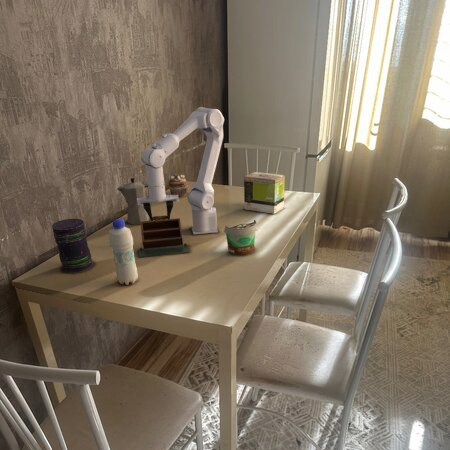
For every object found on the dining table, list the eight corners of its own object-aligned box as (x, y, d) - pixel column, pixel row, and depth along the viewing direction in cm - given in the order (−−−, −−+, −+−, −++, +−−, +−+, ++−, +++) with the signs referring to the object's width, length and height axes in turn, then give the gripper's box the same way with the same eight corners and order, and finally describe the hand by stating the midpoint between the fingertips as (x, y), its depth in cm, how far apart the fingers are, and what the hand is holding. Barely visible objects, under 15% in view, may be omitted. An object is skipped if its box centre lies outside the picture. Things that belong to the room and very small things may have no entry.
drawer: (182, 238, 145) (178, 210, 149) (142, 242, 143) (139, 214, 147) (182, 245, 150) (179, 218, 153) (143, 248, 148) (141, 221, 151)
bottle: (118, 277, 130) (107, 216, 120) (140, 275, 131) (131, 215, 121) (115, 287, 125) (103, 224, 114) (138, 285, 125) (128, 223, 115)
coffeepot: (125, 227, 169) (117, 183, 160) (120, 220, 176) (113, 177, 167) (161, 221, 174) (156, 177, 164) (155, 214, 181) (150, 172, 172)
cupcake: (167, 197, 202) (165, 176, 197) (172, 191, 210) (170, 171, 205) (186, 197, 201) (184, 177, 196) (190, 192, 209) (189, 172, 204)
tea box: (284, 208, 183) (285, 174, 176) (274, 214, 176) (275, 179, 168) (254, 203, 190) (254, 170, 183) (243, 209, 183) (243, 175, 176)
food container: (233, 259, 139) (232, 231, 134) (224, 253, 144) (223, 226, 138) (264, 252, 144) (264, 224, 138) (255, 245, 148) (255, 219, 143)
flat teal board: (188, 252, 145) (188, 249, 145) (139, 257, 143) (139, 254, 142) (187, 245, 151) (186, 242, 150) (139, 249, 148) (139, 247, 148)
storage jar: (76, 275, 132) (65, 231, 125) (56, 269, 137) (44, 226, 129) (99, 263, 139) (90, 221, 132) (79, 257, 144) (69, 216, 136)
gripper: (176, 180, 147) (179, 216, 154) (135, 183, 146) (140, 220, 153) (177, 185, 141) (181, 223, 148) (134, 188, 140) (140, 226, 147)
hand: (160, 222), depth 150 cm, fingers closed on drawer, 5 cm apart
